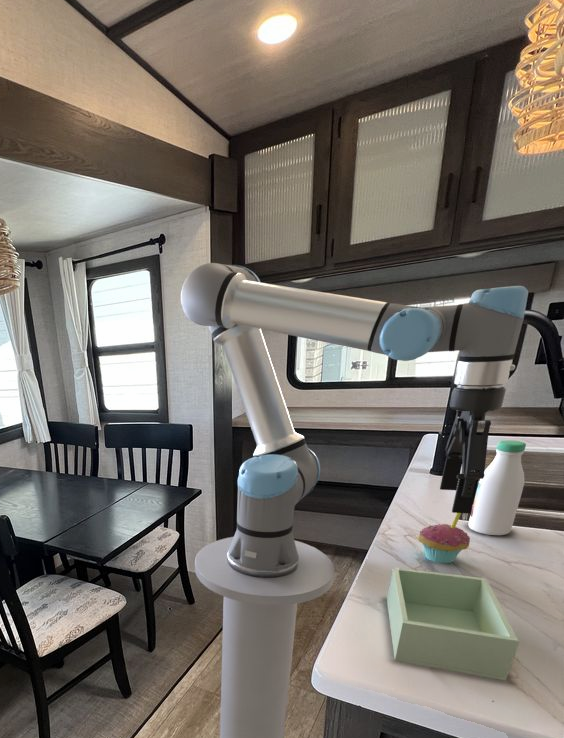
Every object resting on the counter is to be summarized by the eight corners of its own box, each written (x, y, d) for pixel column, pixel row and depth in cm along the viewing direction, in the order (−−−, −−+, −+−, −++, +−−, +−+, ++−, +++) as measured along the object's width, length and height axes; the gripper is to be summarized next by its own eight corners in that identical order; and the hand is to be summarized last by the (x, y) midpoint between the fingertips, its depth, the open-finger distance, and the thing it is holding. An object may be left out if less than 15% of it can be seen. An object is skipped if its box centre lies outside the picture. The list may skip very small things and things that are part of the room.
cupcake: (452, 549, 98) (465, 496, 93) (473, 568, 91) (488, 511, 86) (407, 549, 100) (418, 496, 95) (424, 568, 92) (437, 511, 87)
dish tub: (386, 600, 83) (392, 567, 80) (476, 612, 78) (486, 578, 75) (394, 660, 69) (402, 622, 66) (505, 681, 63) (519, 641, 61)
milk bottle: (519, 534, 103) (546, 444, 95) (485, 537, 102) (510, 447, 94) (491, 521, 110) (514, 436, 102) (459, 524, 109) (480, 440, 101)
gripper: (529, 395, 70) (494, 525, 78) (488, 377, 90) (464, 482, 99) (468, 396, 73) (441, 522, 81) (442, 378, 93) (422, 480, 102)
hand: (454, 500), depth 90 cm, fingers open, 13 cm apart
